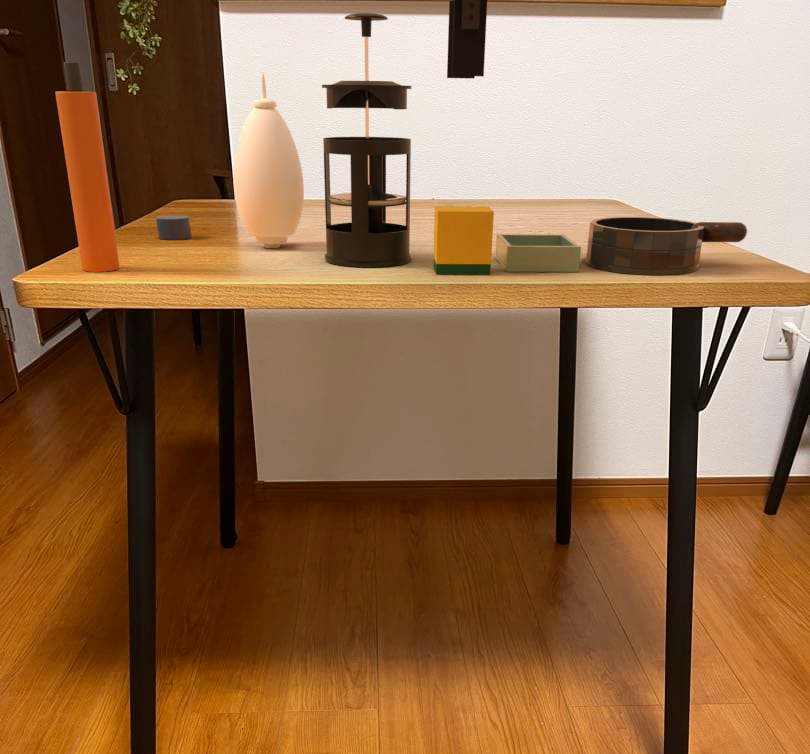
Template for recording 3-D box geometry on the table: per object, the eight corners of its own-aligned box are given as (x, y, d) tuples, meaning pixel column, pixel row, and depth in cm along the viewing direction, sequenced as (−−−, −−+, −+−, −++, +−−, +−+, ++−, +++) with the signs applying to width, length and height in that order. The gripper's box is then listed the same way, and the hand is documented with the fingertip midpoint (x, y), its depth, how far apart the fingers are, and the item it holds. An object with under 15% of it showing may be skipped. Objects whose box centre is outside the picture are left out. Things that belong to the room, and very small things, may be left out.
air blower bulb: (309, 242, 106) (303, 73, 98) (301, 252, 99) (293, 72, 91) (245, 241, 106) (233, 72, 98) (232, 251, 99) (218, 71, 91)
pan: (600, 275, 89) (605, 231, 87) (576, 255, 99) (579, 216, 97) (713, 275, 89) (720, 232, 87) (677, 256, 99) (683, 217, 97)
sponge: (486, 267, 92) (489, 206, 89) (490, 274, 88) (493, 211, 85) (433, 267, 91) (434, 206, 89) (436, 274, 88) (437, 211, 85)
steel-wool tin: (198, 237, 108) (196, 216, 107) (172, 241, 106) (170, 220, 104) (177, 234, 111) (175, 214, 109) (151, 237, 108) (149, 217, 107)
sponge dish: (578, 272, 90) (581, 246, 89) (506, 271, 90) (507, 246, 88) (562, 258, 97) (564, 234, 96) (495, 257, 97) (496, 234, 96)
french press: (403, 270, 90) (406, 8, 79) (314, 266, 91) (305, 8, 80) (418, 252, 100) (422, 18, 90) (338, 249, 101) (333, 18, 91)
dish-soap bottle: (122, 265, 91) (95, 63, 82) (116, 271, 87) (87, 62, 79) (86, 265, 90) (55, 62, 82) (79, 272, 87) (46, 61, 79)
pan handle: (692, 243, 92) (695, 223, 91) (685, 240, 94) (688, 220, 93) (748, 243, 92) (751, 223, 91) (740, 240, 94) (744, 221, 93)
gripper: (427, -178, 82) (422, 78, 92) (430, -277, 60) (423, 74, 70) (507, -177, 82) (494, 79, 92) (540, -276, 60) (518, 75, 70)
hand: (463, 77), depth 81 cm, fingers open, 13 cm apart
